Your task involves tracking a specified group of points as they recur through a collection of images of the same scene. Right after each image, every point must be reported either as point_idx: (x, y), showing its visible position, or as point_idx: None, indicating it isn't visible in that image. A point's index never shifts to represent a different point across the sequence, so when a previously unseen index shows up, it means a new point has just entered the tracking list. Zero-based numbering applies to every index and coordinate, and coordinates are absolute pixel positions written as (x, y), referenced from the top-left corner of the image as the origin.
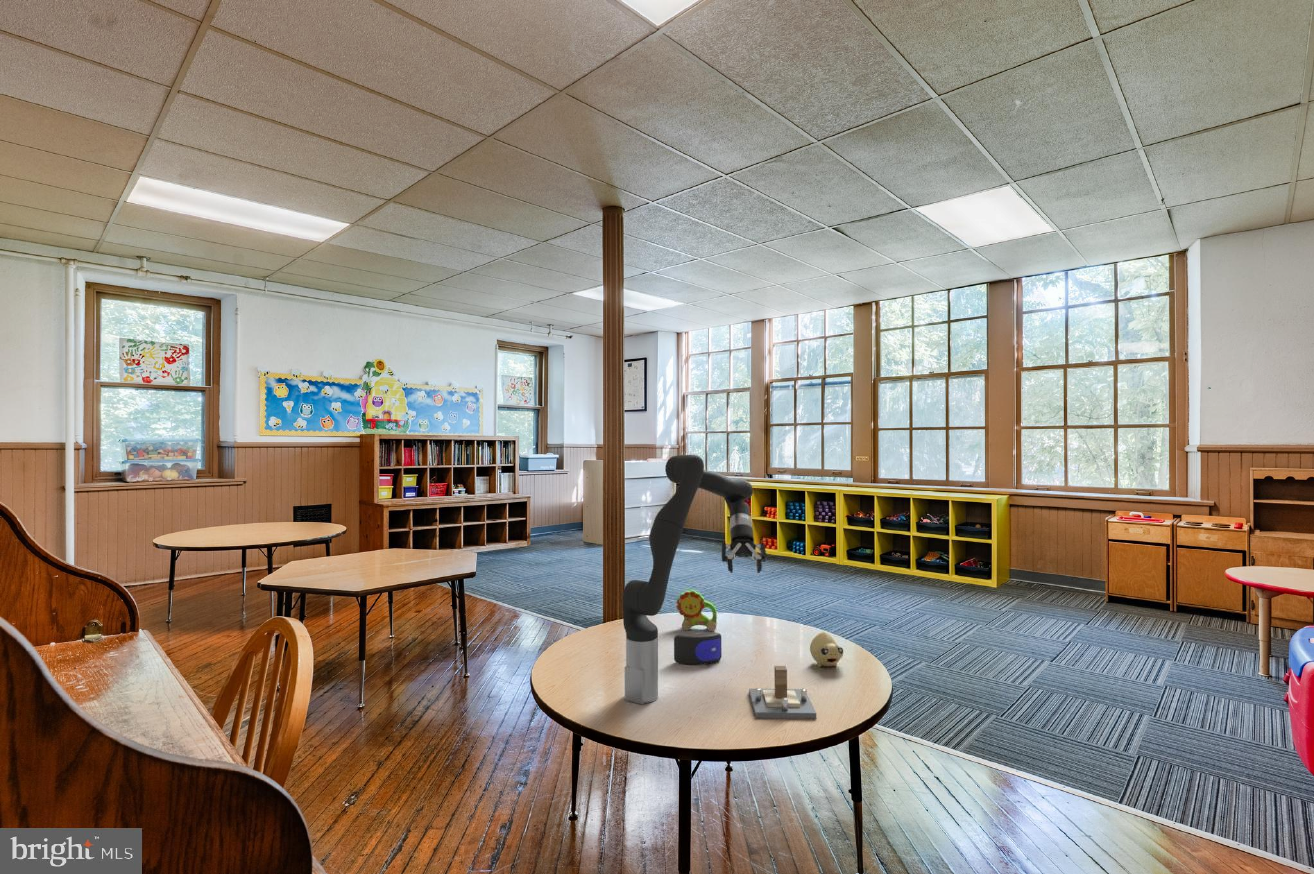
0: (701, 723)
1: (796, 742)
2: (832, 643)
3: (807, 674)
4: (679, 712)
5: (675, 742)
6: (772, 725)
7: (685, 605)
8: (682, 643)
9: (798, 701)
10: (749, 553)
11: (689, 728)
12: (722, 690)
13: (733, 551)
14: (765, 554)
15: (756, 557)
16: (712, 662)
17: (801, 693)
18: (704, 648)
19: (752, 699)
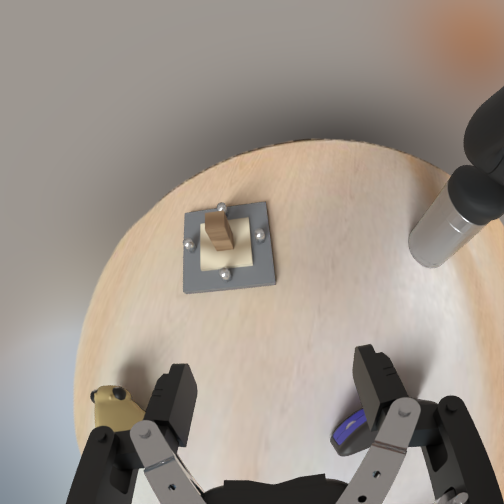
0: (334, 184)
1: (222, 162)
2: (99, 401)
3: None
4: (368, 207)
5: (350, 146)
6: (245, 191)
7: None
8: (418, 399)
9: (201, 229)
10: (217, 487)
11: (344, 172)
12: (321, 291)
13: (388, 459)
14: (90, 446)
15: (164, 438)
16: (347, 418)
17: (192, 242)
18: None
19: (269, 240)
